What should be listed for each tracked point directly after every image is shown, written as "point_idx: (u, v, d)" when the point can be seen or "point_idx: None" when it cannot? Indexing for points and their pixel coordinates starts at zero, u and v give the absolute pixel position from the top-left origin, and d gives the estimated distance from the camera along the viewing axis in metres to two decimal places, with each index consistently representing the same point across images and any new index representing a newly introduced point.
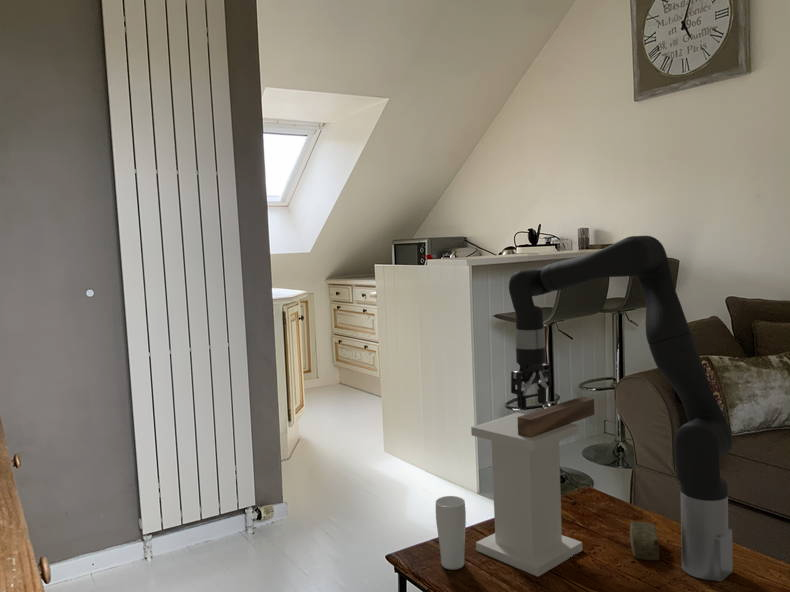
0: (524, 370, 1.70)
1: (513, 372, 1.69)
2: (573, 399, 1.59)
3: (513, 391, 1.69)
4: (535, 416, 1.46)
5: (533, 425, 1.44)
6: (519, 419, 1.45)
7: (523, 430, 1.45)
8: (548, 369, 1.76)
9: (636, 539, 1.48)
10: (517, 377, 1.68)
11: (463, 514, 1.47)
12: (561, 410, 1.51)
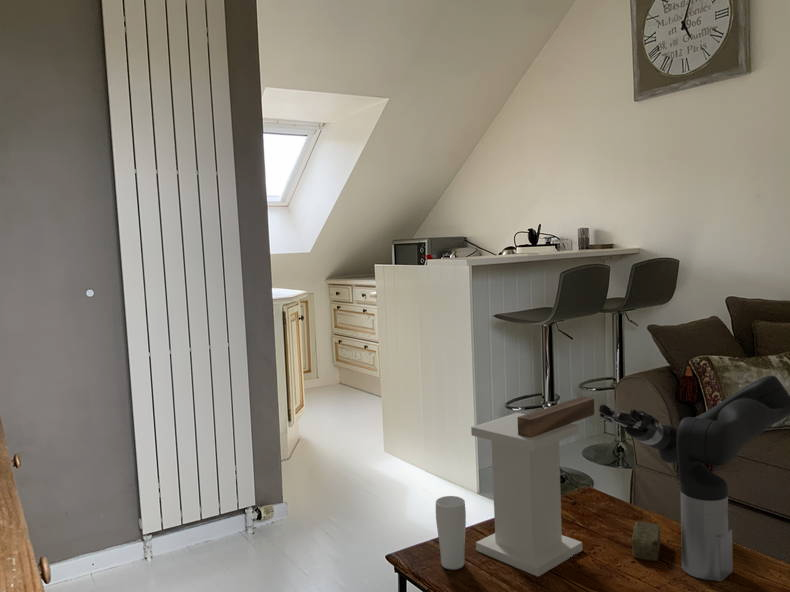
0: (647, 427, 1.73)
1: (658, 423, 1.71)
2: (573, 399, 1.59)
3: (651, 418, 1.68)
4: (535, 416, 1.46)
5: (533, 425, 1.44)
6: (519, 419, 1.45)
7: (523, 430, 1.45)
8: (610, 420, 1.79)
9: (635, 538, 1.48)
10: (655, 427, 1.70)
11: (463, 514, 1.47)
12: (561, 410, 1.51)
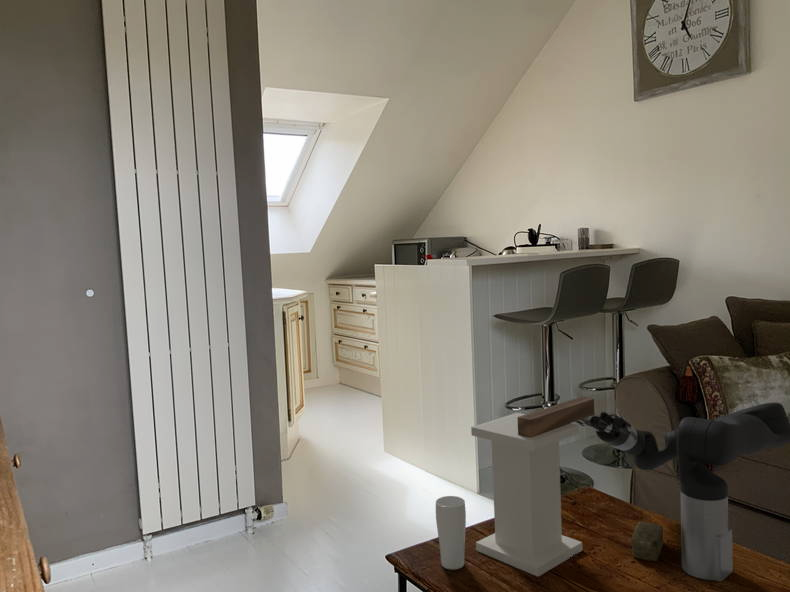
0: (619, 431, 1.65)
1: (630, 427, 1.63)
2: (573, 399, 1.59)
3: (622, 422, 1.60)
4: (535, 416, 1.46)
5: (533, 425, 1.44)
6: (519, 419, 1.45)
7: (523, 430, 1.45)
8: (582, 424, 1.71)
9: (634, 538, 1.49)
10: (627, 431, 1.62)
11: (463, 514, 1.47)
12: (561, 410, 1.51)
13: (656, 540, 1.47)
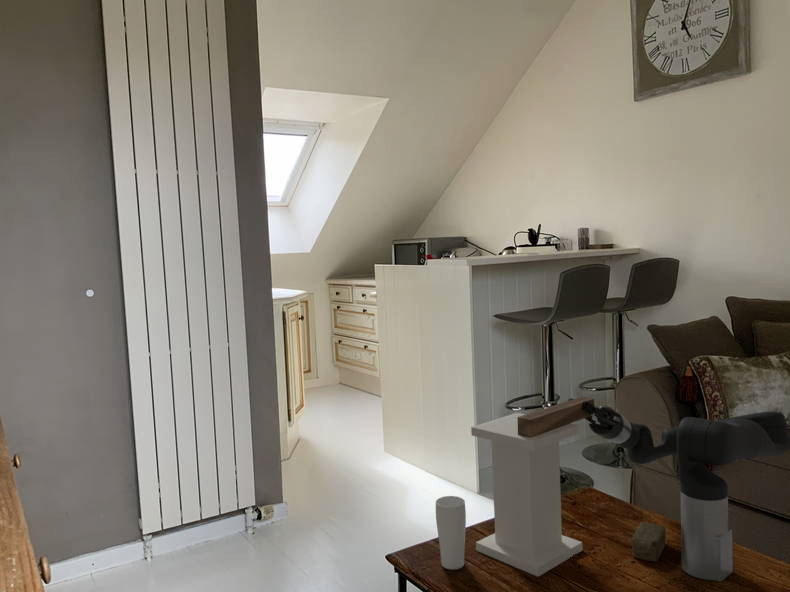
0: (612, 423, 1.61)
1: (620, 418, 1.58)
2: (573, 399, 1.59)
3: (604, 411, 1.57)
4: (535, 416, 1.46)
5: (533, 425, 1.44)
6: (519, 419, 1.45)
7: (523, 430, 1.45)
8: None
9: (634, 538, 1.49)
10: (615, 422, 1.58)
11: (463, 514, 1.47)
12: (561, 410, 1.51)
13: (656, 540, 1.47)
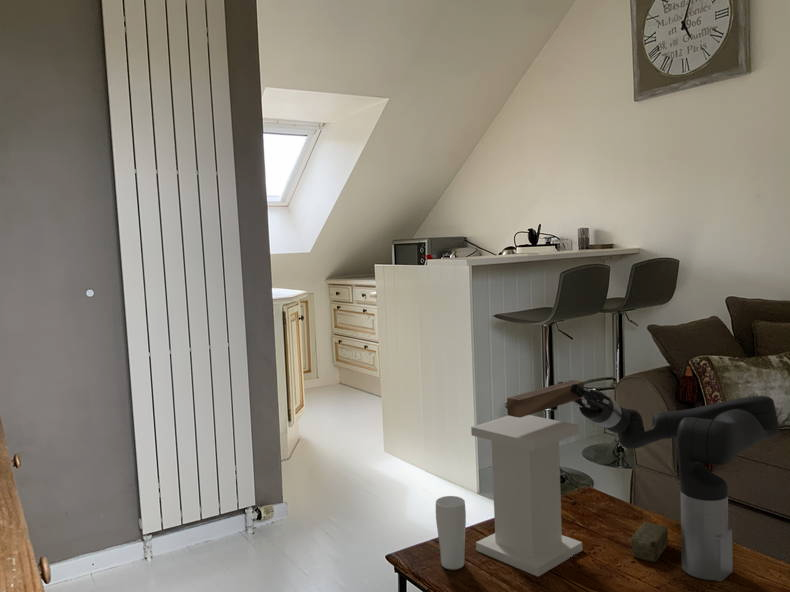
0: (601, 406, 1.63)
1: (609, 400, 1.61)
2: (563, 382, 1.62)
3: (594, 394, 1.59)
4: (524, 397, 1.48)
5: (522, 406, 1.46)
6: (508, 400, 1.48)
7: (513, 411, 1.47)
8: None
9: (634, 538, 1.49)
10: (604, 404, 1.60)
11: (463, 514, 1.47)
12: (550, 392, 1.53)
13: (655, 541, 1.47)
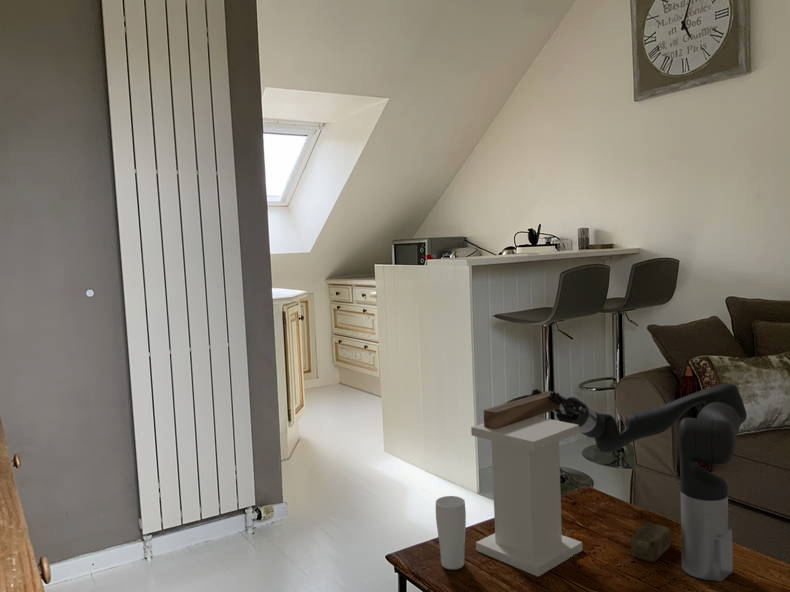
0: (577, 413, 1.68)
1: (585, 408, 1.66)
2: None
3: (571, 402, 1.64)
4: (500, 409, 1.53)
5: (498, 418, 1.52)
6: (485, 412, 1.53)
7: (489, 422, 1.52)
8: None
9: (633, 537, 1.49)
10: (580, 412, 1.65)
11: (463, 514, 1.47)
12: (526, 403, 1.58)
13: (655, 541, 1.47)
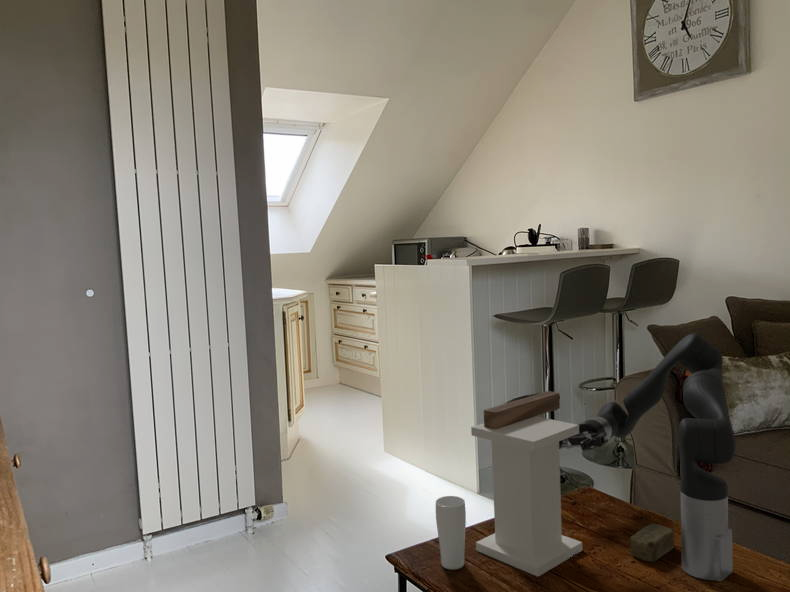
0: None
1: (606, 434, 1.73)
2: None
3: (600, 439, 1.69)
4: (500, 409, 1.53)
5: (498, 418, 1.52)
6: (485, 412, 1.53)
7: (489, 422, 1.52)
8: None
9: (633, 536, 1.49)
10: (606, 441, 1.72)
11: (463, 514, 1.47)
12: (526, 403, 1.58)
13: (654, 541, 1.47)
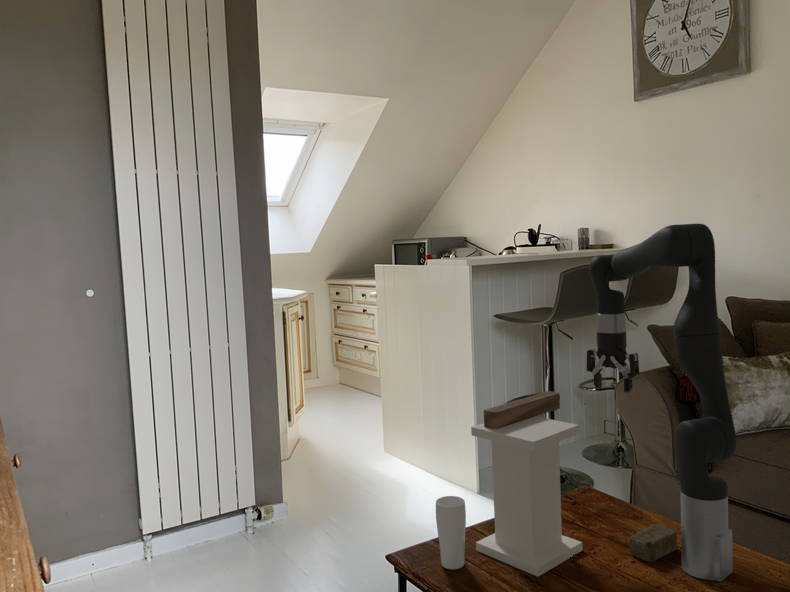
0: (626, 352, 1.72)
1: (634, 355, 1.69)
2: None
3: (636, 374, 1.70)
4: (500, 409, 1.53)
5: (498, 418, 1.52)
6: (485, 412, 1.53)
7: (489, 422, 1.52)
8: None
9: (632, 536, 1.50)
10: (637, 358, 1.70)
11: (463, 514, 1.47)
12: (526, 403, 1.58)
13: (653, 542, 1.47)
